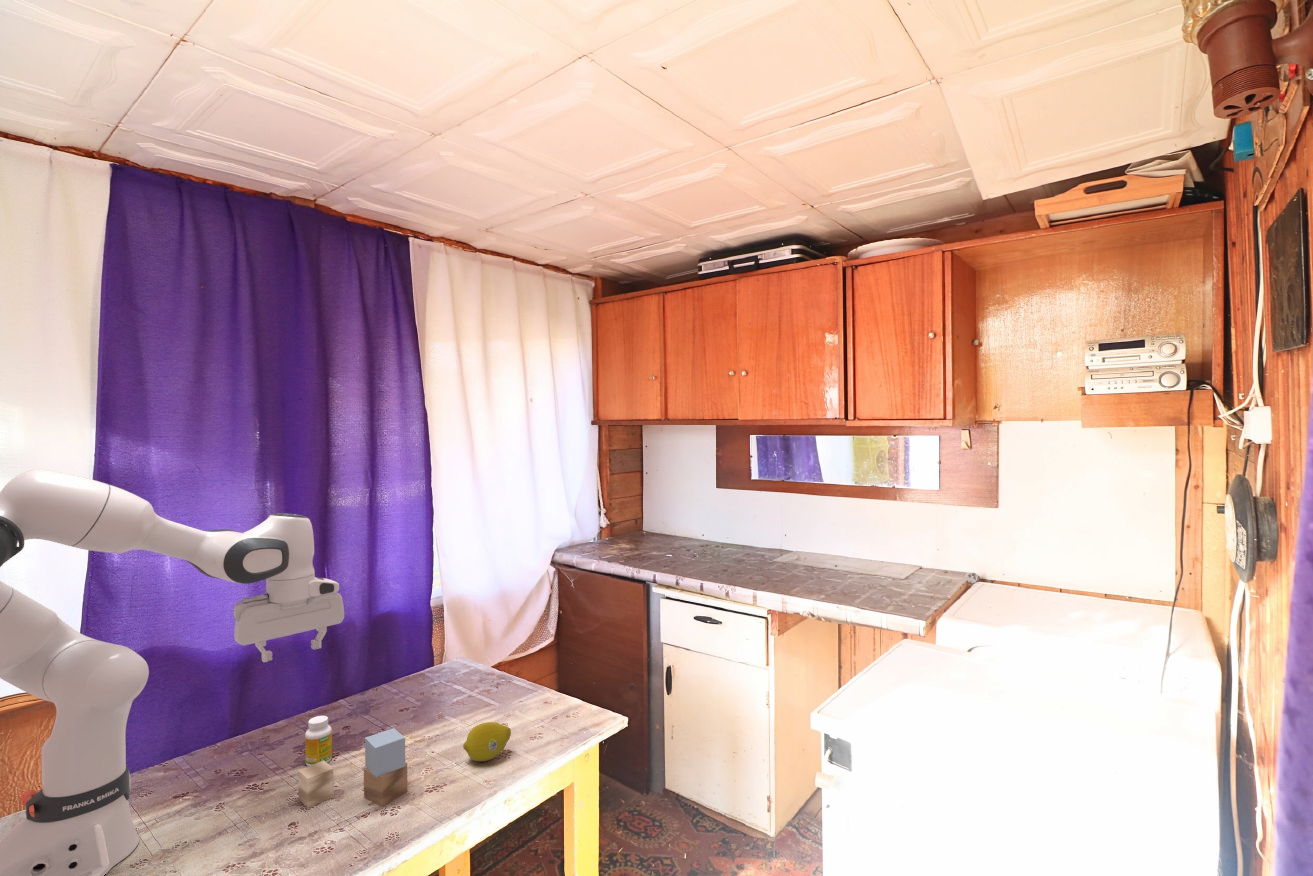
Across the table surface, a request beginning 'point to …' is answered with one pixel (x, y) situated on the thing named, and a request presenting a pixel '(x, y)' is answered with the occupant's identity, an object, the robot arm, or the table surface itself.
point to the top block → (385, 752)
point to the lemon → (486, 741)
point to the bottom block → (385, 785)
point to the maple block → (316, 783)
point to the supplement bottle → (318, 741)
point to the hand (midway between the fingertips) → (292, 654)
